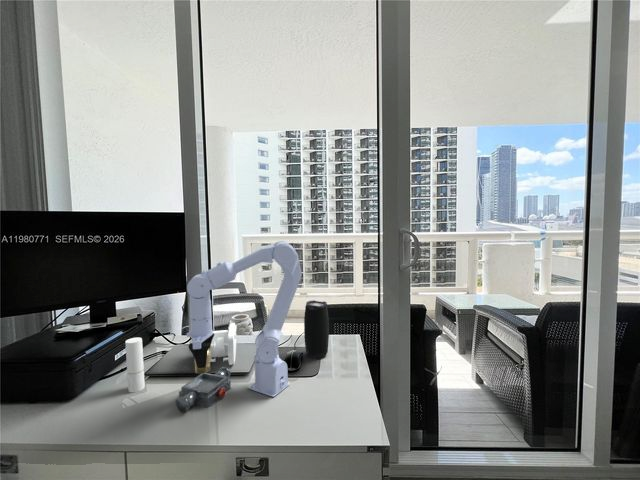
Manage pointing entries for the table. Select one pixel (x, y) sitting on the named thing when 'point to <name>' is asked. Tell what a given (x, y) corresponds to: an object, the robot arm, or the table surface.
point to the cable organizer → (224, 344)
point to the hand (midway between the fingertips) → (203, 363)
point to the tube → (135, 364)
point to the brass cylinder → (207, 367)
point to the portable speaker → (316, 329)
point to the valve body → (204, 390)
